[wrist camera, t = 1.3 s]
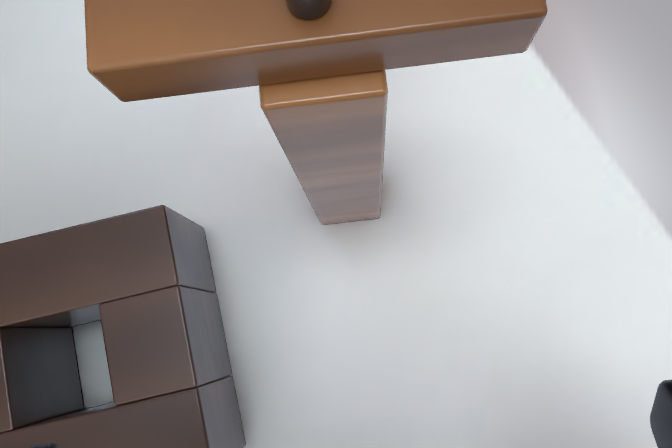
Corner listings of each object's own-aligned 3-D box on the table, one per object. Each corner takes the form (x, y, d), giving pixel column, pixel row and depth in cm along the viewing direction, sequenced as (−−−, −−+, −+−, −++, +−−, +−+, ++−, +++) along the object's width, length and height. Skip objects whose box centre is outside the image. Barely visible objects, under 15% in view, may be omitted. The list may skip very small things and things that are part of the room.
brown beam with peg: (445, 211, 23) (593, -22, 7) (256, 232, 23) (27, 50, 8) (437, 153, 23) (562, -182, 8) (252, 175, 23) (23, -107, 8)
